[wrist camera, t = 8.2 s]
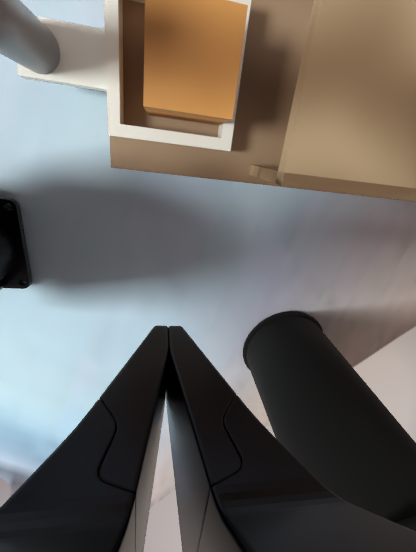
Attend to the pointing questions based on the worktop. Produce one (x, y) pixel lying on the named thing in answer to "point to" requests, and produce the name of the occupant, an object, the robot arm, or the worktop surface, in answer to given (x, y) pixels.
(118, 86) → the sled
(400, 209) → the worktop surface
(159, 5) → the block
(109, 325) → the worktop surface
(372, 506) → the aerosol can
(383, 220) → the worktop surface
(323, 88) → the tan piece
